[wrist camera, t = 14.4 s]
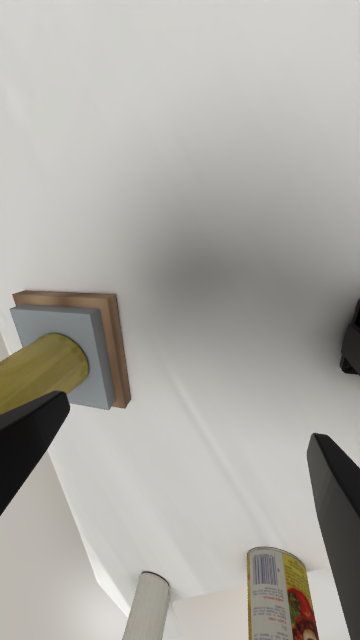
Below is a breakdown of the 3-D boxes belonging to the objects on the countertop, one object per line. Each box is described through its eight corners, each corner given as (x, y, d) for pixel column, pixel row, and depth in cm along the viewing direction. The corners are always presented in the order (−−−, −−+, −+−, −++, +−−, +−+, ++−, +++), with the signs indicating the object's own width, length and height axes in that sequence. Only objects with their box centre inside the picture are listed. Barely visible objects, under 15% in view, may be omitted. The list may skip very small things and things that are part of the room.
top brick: (99, 308, 21) (89, 314, 20) (115, 400, 25) (109, 410, 24) (23, 304, 23) (9, 308, 22) (49, 389, 27) (40, 397, 26)
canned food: (268, 580, 34) (281, 741, 24) (235, 550, 33) (233, 704, 23) (317, 577, 31) (358, 763, 20) (282, 543, 30) (306, 719, 19)
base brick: (115, 294, 22) (107, 299, 20) (130, 399, 27) (125, 408, 25) (24, 290, 24) (12, 294, 23) (54, 386, 29) (45, 394, 28)
